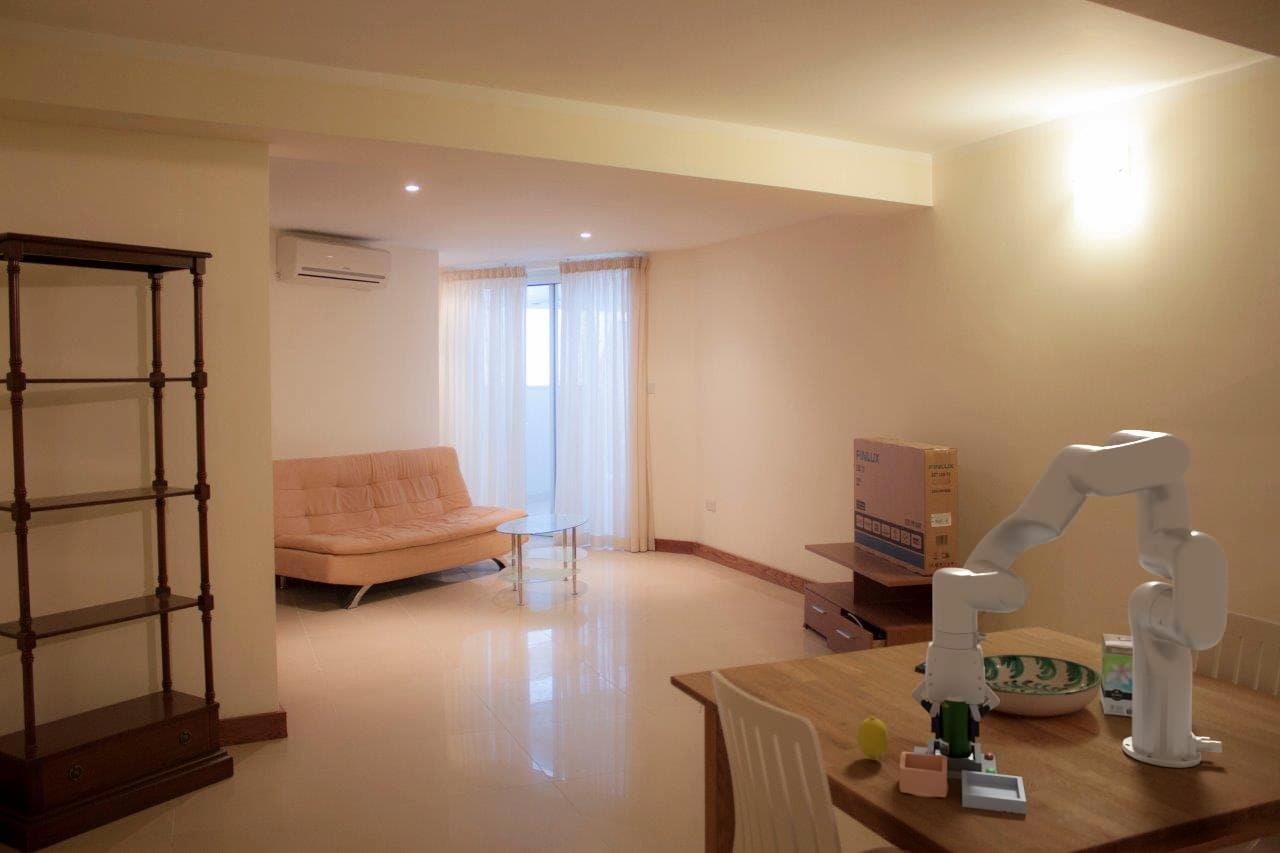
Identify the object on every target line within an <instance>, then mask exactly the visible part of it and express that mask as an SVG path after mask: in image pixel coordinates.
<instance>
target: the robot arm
mask: <svg viewBox="0 0 1280 853" xmlns="http://www.w3.org/2000/svg"><path fill="white" fill-rule="evenodd" d="M1192 454H1193V453H1192V451H1191V448H1190V446H1189V444H1188V443H1187V442H1186V441H1185V440H1184V439H1182V438H1181V437H1179V436H1177V435H1174V434H1171V433H1166V432H1159V431H1158V432H1155V431H1147V430H1139V429H1138V430H1135V429H1127V430H1120V431H1116V432H1114V433H1112V434H1111V435H1110V436H1108V437H1107V439H1106V441H1105V443H1104V446H1103V447H1102V446H1095V445H1088V444H1086V445H1085V444H1071V445H1067V446H1065V447H1063V448H1061V449H1060V450H1059V451H1058V452H1057V453H1056V454H1055V456H1054V457H1053V459H1051V461H1050V463H1049V464H1048V465H1047V466H1046V469H1045V470H1044V472H1042V474H1041V476H1040V478H1039V479H1038V480H1037V482H1036V483H1035V485H1034V486H1033V488H1031V491H1030V492H1029V494H1028V495H1027V496H1026V498H1025V499H1024V500H1023V502H1022V504H1020V506H1019V508H1017V509H1016V511H1014V512H1013V513H1011V514H1010V515H1008V516H1007V517H1006V518H1004V519H1003V520H1002V521H1000V523H998V524H997V525H995V527H993V528H992V529H991V530H989V532H987V533H986V534H985V535H984V536H983V538H982V539H981V540H980V541H979V542H978V544H977V545H976V546H975V548H974V549H973V551H972V552H971V554H970V555H969V556H968V558H967V560H966V561H965V562H964V565H963V566H962V567H960V568H959V567H943V568H942V567H941V568H938V569H936V571H934V572H933V575H932V641H929V642H928V644H927V645H928V646H927V650H926V658H925V662H926V670H925V673H924V676H925V677H924V678H923V680H922V681H921V682H919V683H918V685H916V687H915V688H913V690H912V691H911V694H910V695H911V697H912V698H913V699H914V700H915V702H917V703H918V704H920V706H921V708H923V709H924V710H925V711H926V712H927V713H928V714H929V716H930V717H931V718H930V721H931V722H930V724H931V725H930V729H931V732H930V733H934V735H935V736H934V737H935V738H934V739H937V740H938V739H940V723H939V706H940V704H941V702H944V700H945V698H947V697H949V696H948V695H949V694H951V695H961V696H962V697H961V698H963V699H964V700H965V702H966V704H968V705H969V706H970V709H971V743H976V738H980V721H981V720H982V719H983V718H984V717H985V716H986V715H988V713H989V712H991V710H993V709H995V708H996V707H998V706H999V705H1000V704H1001V701H1000V698H999V696H997V695H996V692H994V691H993V690H992V689H991V687H989V685H988V684H987V683H986V672H985V661H984V654H983V649H982V646H981V645H980V643H982V642H986V640H987V634H986V633H982V632H979V631H978V611H982V612H988V613H989V612H991V613H998V614H999V613H1000V614H1001V613H1003V614H1007V613H1012V612H1016V611H1017V610H1019V609H1021V608H1022V607H1023V606H1024V605H1025V604H1026V601H1027V598H1028V594H1029V593H1028V587H1027V585H1026V583H1025V581H1024V580H1023V578H1021V577H1020V576H1019V575H1018V574H1016V573H1015V572H1013V571H1011V570H1010V569H1009V568H1010V566H1011V565H1012V564H1013V563H1014V561H1016V559H1017V558H1019V556H1021V555H1022V554H1023V553H1024V552H1026V551H1028V550H1029V549H1031V548H1034V547H1036V546H1039V545H1042V544H1043V545H1044V544H1047V543H1048V542H1053V541H1054V540H1057V539H1059V538H1061V537H1062V536H1064V534H1065V533H1066V532H1067V530H1068V528H1069V527H1070V526H1071V524H1072V523H1073V521H1074V519H1075V518H1076V517H1077V515H1078V513H1080V510H1081V509H1082V508H1083V506H1084V505H1085V503H1086V502H1087V501H1088V499H1089V498H1090V497H1091V496H1095V497H1100V498H1101V497H1102V498H1109V497H1117V496H1122V495H1127V494H1132V493H1134V495H1135V500H1136V510H1137V511H1136V514H1137V515H1136V516H1137V517H1136V518H1137V520H1136V521H1137V522H1136V555H1137V560H1138V564H1139V565H1140V566H1141V567H1142V568H1143V569H1144V570H1145V571H1146V572H1148V573H1150V574H1152V575H1155V576H1158V577H1160V578H1164V579H1166V580H1170V581H1172V584H1171V583H1167V582H1163V581H1147V582H1143V583H1142V584H1140V585H1138V586H1137V587H1135V588H1134V589H1133V591H1132V592H1131V594H1130V595H1129V598H1128V601H1127V618H1128V624H1129V627H1130V636H1132V645H1133V676H1132V717H1131V736H1129V737H1126V738H1124V739H1123V740H1122V744H1121V747H1122V750H1123V751H1124V753H1125V754H1127V755H1128V756H1129V757H1131V758H1133V759H1135V760H1138V761H1139V762H1142V763H1146V764H1150V765H1154V766H1157V767H1166V768H1176V769H1178V768H1181V769H1183V768H1191V767H1194V766H1197V765H1198V764H1200V763H1201V761H1202V754H1201V753H1202V752H1203V751H1207V752H1210V753H1219V754H1220V753H1223V743H1222V741H1217V740H1211V737H1208V736H1196V735H1195V734H1194V732H1193V731H1192V726H1193V725H1192V723H1193V722H1192V716H1193V710H1192V709H1193V706H1192V705H1193V656H1192V651H1191V650H1194V651H1195V650H1196V651H1203V650H1209V649H1211V648H1213V647H1214V646H1216V645H1218V643H1220V641H1221V639H1222V638H1223V636H1224V634H1225V631H1226V628H1227V625H1228V624H1227V622H1228V610H1229V609H1228V606H1229V604H1228V603H1229V598H1228V596H1229V562H1228V557H1227V555H1226V552H1225V550H1224V548H1223V546H1222V545H1221V543H1220V542H1219V541H1218V540H1217V539H1216V538H1214V536H1211V535H1209V534H1207V533H1205V532H1202V531H1198V530H1194V529H1193V526H1192V509H1191V506H1192V505H1191V496H1190V491H1189V487H1188V485H1187V484H1188V483H1187V482H1186V480H1185V478H1184V476H1185V474H1187V473H1188V471H1189V470H1190V467H1191V465H1192V460H1193V455H1192ZM1008 569H1009V570H1008ZM977 643H978V645H977ZM924 692H925V696H924V695H923V693H924ZM986 698H988V700H987V701H985V700H986ZM979 705H980V706H979Z"/></svg>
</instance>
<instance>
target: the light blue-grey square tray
mask: <svg viewBox="0 0 1280 853" xmlns="http://www.w3.org/2000/svg"><path fill="white" fill-rule="evenodd" d="M1026 798H1027V797H1026V793H1025V788H1024V781H1023V777H1022V776H1017V775H1008V774H1000V773H997V774H992V773H983V772H974V771H965V770H962V779H961V799H962V801H961V805H962V806H961V807H964V808H970V809H971V808H972V809H977V810H978V809H980V810H988V811H994V810H995V812H1003V811H1006V812H1005V813H1011V812H1013V813H1012V814H1019V813H1020V814H1021V815H1027V799H1026Z"/></svg>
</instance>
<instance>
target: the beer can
mask: <svg viewBox="0 0 1280 853" xmlns="http://www.w3.org/2000/svg"><path fill="white" fill-rule="evenodd" d="M948 696H949V697H947V698H945V700H944V702H941V704H940V706H939V709H938V713H939V723H940V739H939V751H940V754H941V755H942V756H946V757H949V758H958V759H968V760H969V758H970V756H971V743H972V742H971V716H972V711H971V709H970V706H969V705H968V704H966V702H965V700H964V699H963V698H961V697H962V696H961V695H951V694H949V695H948Z"/></svg>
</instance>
